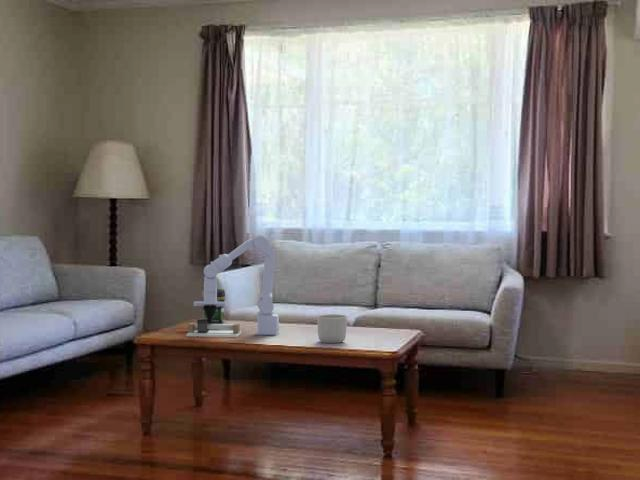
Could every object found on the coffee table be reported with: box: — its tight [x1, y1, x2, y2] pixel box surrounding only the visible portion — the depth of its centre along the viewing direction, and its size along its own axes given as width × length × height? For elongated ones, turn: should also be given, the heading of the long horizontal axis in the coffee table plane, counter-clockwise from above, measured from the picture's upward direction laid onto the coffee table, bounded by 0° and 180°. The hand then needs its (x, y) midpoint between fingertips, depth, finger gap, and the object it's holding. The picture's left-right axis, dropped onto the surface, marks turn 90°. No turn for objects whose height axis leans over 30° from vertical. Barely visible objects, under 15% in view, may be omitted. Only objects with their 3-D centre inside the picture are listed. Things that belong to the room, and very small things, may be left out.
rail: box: [185, 322, 242, 338], centre depth 352 cm, size 22×12×5 cm, turn 85°
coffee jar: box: [203, 288, 226, 324], centre depth 371 cm, size 10×8×19 cm
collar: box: [196, 317, 210, 333], centre depth 353 cm, size 4×5×6 cm
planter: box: [316, 313, 348, 344], centre depth 335 cm, size 12×12×11 cm
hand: (210, 322), depth 352 cm, fingers closed
